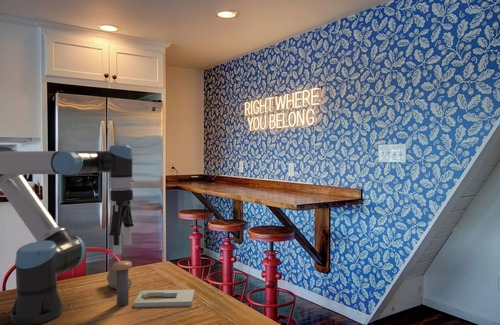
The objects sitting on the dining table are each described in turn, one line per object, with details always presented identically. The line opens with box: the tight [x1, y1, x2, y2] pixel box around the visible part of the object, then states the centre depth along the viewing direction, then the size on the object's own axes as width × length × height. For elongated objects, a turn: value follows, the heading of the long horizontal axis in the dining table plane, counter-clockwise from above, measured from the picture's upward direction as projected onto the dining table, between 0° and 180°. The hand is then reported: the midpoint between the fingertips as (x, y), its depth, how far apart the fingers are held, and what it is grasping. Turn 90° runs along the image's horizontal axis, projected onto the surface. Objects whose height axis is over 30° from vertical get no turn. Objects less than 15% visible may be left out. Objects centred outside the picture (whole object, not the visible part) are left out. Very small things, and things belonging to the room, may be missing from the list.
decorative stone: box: [106, 266, 133, 290], centre depth 157 cm, size 8×14×8 cm, turn 34°
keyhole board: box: [133, 289, 196, 308], centre depth 143 cm, size 20×12×2 cm, turn 93°
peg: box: [112, 260, 133, 307], centre depth 139 cm, size 6×6×14 cm
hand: (122, 249), depth 138 cm, fingers open, 13 cm apart
